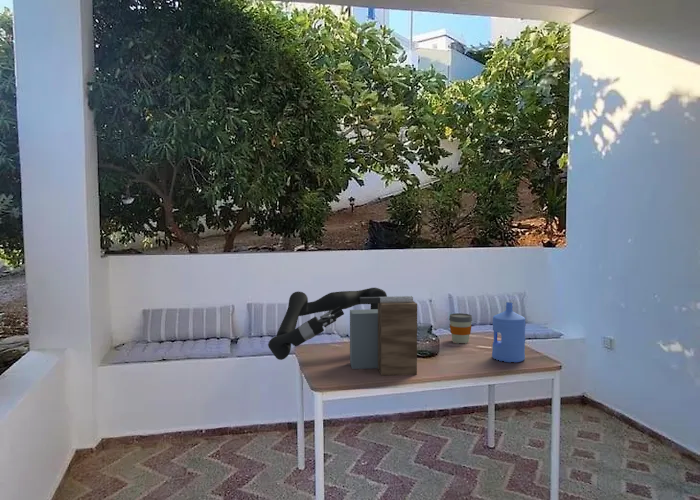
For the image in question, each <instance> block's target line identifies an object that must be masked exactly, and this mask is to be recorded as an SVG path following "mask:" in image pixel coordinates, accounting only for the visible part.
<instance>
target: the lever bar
mask: <svg viewBox="0 0 700 500" xmlns="http://www.w3.org/2000/svg"><path fill="white" fill-rule="evenodd" d="M413 301H414V297H413V296H412V295H411V296H408V295H405V296H403V295H402V296H401V295H400V296H397V295H396V296H387V297H360V304H359V305H366V304H365V303H413Z"/></svg>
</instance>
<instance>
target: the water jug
mask: <svg viewBox="0 0 700 500" xmlns="http://www.w3.org/2000/svg"><path fill="white" fill-rule="evenodd" d="M505 304H506V305H505V310H504V311H501V312H500V313H497V314H495V315H493V316H492V330H493V342H492V349H491V350H492V351H491V357H492V359H494V360H495V359H496V360H495V361H498V360H499V361H498V362H502V361H504V362H503V363H511V362H514V363H521V362H523V361H525V359H526V355H525V354H526V351H525V348H526V317H524V316H523V315H521V314H519V313H517V312H515V311H513V304H514V303H513V302H511V301H506V303H505ZM498 333H500V335H501V336H500V337H501V338H500V339H501V340H498Z"/></svg>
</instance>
